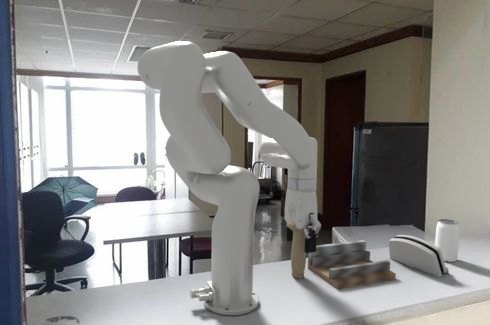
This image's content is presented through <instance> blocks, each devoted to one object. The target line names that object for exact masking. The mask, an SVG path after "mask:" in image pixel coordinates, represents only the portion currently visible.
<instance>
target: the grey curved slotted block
mask: <svg viewBox="0 0 490 325" xmlns="http://www.w3.org/2000/svg"><path fill="white" fill-rule="evenodd" d="M388 248H389V259H390V260H394V261H396V262H399V263H401V264H404V265H406V264H407V265H406V266H409V265H410V266H409V267H411V266H413V267H412V268H414V267H415V268H414V269H417V268H418V269H417V270H419V269H420V270H419V271H422V270H423V271H422V272H424V271H426V272H425V273H427V272H428V273H427V274H430V273H431V274H430V275H432V274H433V275H432V276H435V277H437V276H438V277H437V278H440V277H443V274H447V275H449V274H450V271H449V268H448V267H446V264H445V263H446V262H444V260H443V256H442V253H441V250H440V249H439V248H437V247H436V246H435V244H432V243H430V242H429V241H427V240H424V239H422V238H419V237H416V236H413V235H405V234H399V235H397V234H396V235H395V236H393V237H392V238H391V239H389V241H388Z"/></svg>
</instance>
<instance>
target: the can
mask: <svg viewBox="0 0 490 325" xmlns="http://www.w3.org/2000/svg"><path fill="white" fill-rule="evenodd" d="M460 230H461V227H460V223H459V221H456V220H454V219H449V218H448V219H447V218H446V219H445V218H440V219H438V222H437V223H436V229H435V240H434V246H436V247H437V248H439V249H440V250H441V253H442V256H443V260H444V261H448V262H447V263H455V262H456V261H458V254H459V246H460V245H459V244H460V235H461V234H460ZM454 261H455V262H454Z"/></svg>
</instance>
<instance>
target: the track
mask: <svg viewBox="0 0 490 325" xmlns="http://www.w3.org/2000/svg"><path fill="white" fill-rule="evenodd" d="M366 247H367V240H364V239H361V240H353V241H352V240H351V241H343V242H337V243H336V242H335V243H326V244H320V245H316V252H311V253H307V270H309V271H310V272H312V273H313V274H314V275H316V276H317V277H319V278H321V279H322V280H323V281H325V282H326V283H327V284H329V286H332V287H333V288H335V289H336V290H339V289H344V288H345V289H346V288H350V287H356V286H362V285H363V286H364V285H367V284H369V285H370V284H374V283H378V282H385V281H391V280H396V277H397V276H396V274H397V273H395V272H394V271H392V270H391V261H390V260H387V259H386V260H380V261H373V260H371V251H369V250H366Z"/></svg>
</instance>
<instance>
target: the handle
mask: <svg viewBox="0 0 490 325" xmlns="http://www.w3.org/2000/svg"><path fill="white" fill-rule="evenodd" d="M307 226H311V225H307ZM288 227H289V228H290V229H291V230H293V241H292V245H291V254H290V266H291V267H290V268H291V276H292V277H293V278H294V279H301V278H304V277H305V268H306V264H307V253H305V252H304V249H305V238H307V237H306V234H305V231H304V229H302V230H300V229H298V228H296V227H295V225H294V224H293V223H291V222H289V221H288ZM308 230H310V229H308Z"/></svg>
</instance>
